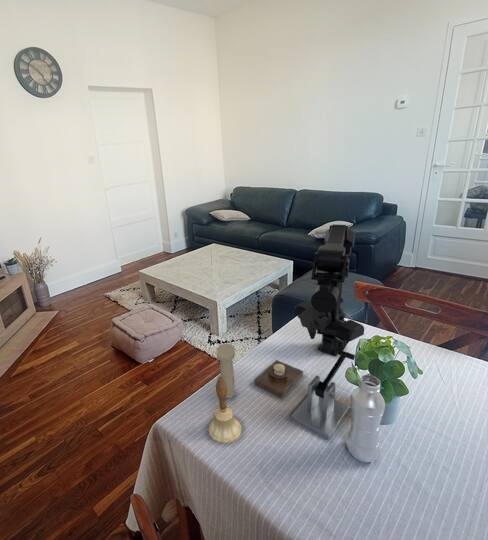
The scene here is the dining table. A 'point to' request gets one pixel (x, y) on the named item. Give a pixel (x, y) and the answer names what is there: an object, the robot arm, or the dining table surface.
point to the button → (279, 369)
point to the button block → (279, 379)
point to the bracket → (320, 410)
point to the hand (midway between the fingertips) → (325, 346)
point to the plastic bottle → (366, 419)
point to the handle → (227, 366)
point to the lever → (332, 373)
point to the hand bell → (224, 418)
